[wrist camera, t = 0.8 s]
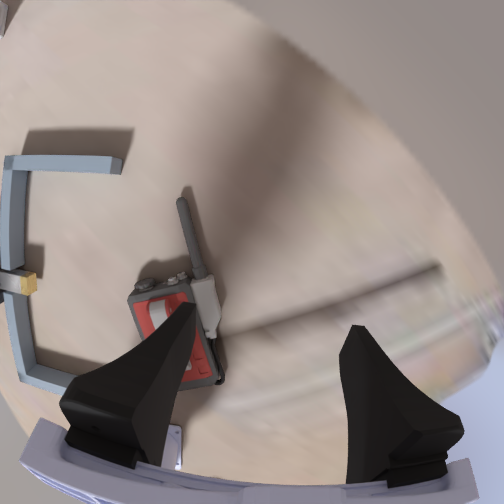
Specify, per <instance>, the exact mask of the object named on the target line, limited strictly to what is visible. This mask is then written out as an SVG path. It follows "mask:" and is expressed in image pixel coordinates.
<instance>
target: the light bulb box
mask: <svg viewBox="0 0 504 504" xmlns="http://www.w3.org/2000/svg"><path fill="white" fill-rule="evenodd" d="M7 11H8V6H7V5H6V4H5V3H3V2H2V1H1V0H0V39H1V38H2V37H3V36H4V30H5V23H6V17H7Z"/></svg>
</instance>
